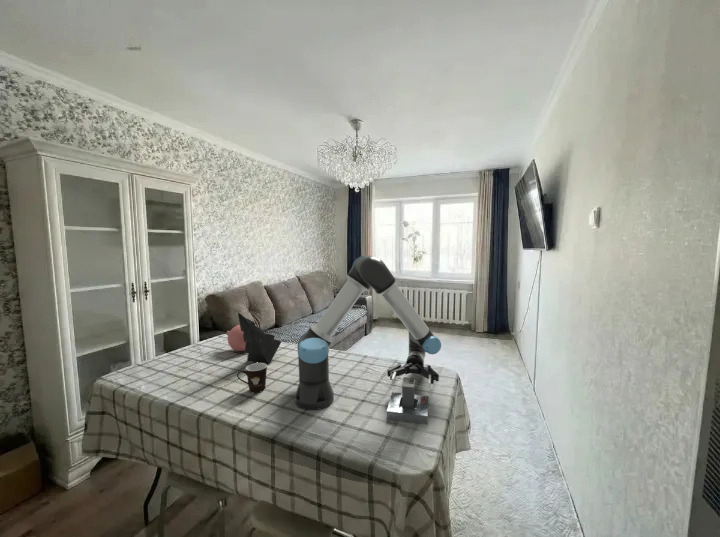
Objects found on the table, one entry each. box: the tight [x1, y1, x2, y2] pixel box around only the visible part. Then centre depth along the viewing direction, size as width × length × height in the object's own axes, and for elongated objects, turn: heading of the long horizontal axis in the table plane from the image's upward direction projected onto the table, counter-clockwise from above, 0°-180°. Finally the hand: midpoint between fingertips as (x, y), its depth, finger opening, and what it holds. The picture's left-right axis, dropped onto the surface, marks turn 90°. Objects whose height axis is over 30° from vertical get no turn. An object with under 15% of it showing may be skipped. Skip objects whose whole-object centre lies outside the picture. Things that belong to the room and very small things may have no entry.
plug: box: [401, 376, 416, 409], centre depth 112 cm, size 4×5×11 cm
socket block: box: [386, 391, 429, 425], centre depth 112 cm, size 14×14×4 cm
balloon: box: [225, 324, 246, 352], centre depth 180 cm, size 15×20×15 cm
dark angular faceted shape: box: [237, 312, 283, 365], centre depth 157 cm, size 15×15×35 cm
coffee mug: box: [236, 362, 268, 393], centre depth 131 cm, size 12×9×10 cm
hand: (410, 384), depth 114 cm, fingers open, 13 cm apart
